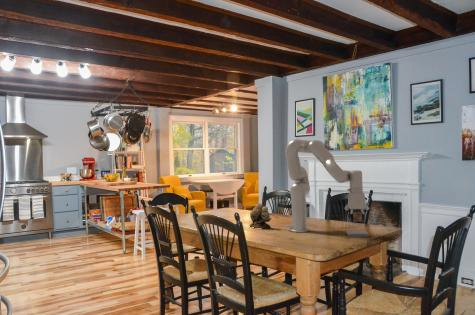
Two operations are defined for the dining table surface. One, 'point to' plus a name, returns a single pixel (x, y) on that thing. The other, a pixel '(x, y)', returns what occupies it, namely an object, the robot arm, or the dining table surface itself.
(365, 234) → the trivet
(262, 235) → the dining table surface
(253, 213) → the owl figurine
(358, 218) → the cube
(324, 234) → the dining table surface
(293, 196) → the robot arm
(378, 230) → the dining table surface
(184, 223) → the dining table surface
